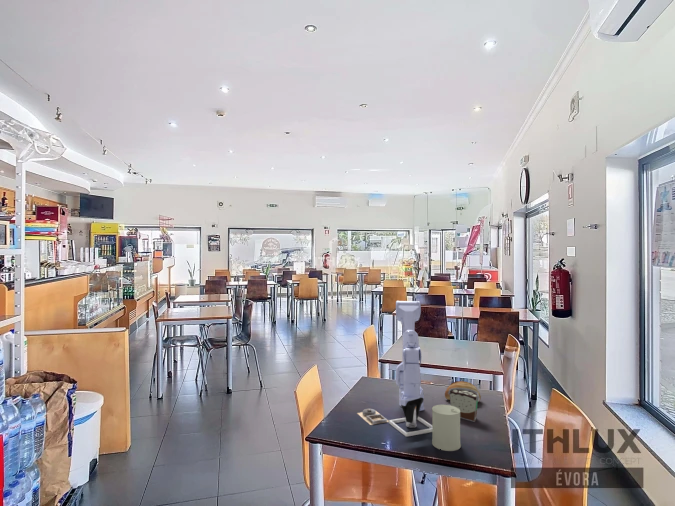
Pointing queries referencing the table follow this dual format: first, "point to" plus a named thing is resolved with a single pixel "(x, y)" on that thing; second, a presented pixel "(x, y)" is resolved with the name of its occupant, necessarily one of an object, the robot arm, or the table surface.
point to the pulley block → (372, 417)
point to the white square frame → (413, 431)
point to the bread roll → (460, 385)
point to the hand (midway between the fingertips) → (411, 420)
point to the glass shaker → (413, 424)
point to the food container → (465, 402)
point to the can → (446, 427)
